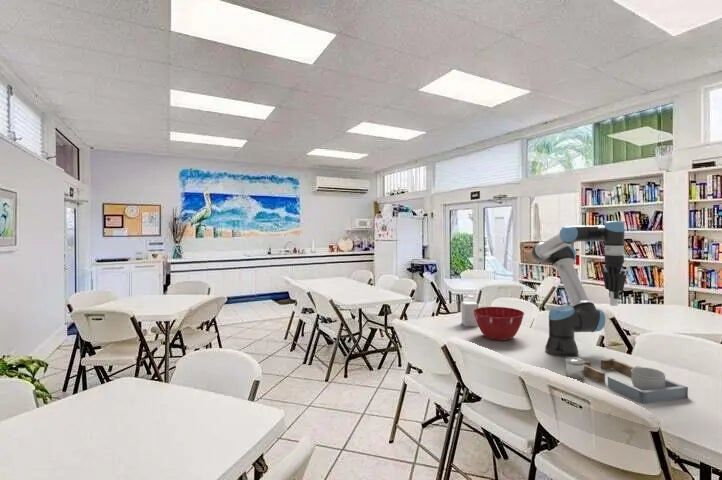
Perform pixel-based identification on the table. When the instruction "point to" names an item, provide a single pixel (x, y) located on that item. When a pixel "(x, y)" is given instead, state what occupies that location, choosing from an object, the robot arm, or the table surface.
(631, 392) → the dock
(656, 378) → the teacup
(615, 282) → the robot arm
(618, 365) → the wooden u-shaped bracket
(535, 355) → the table surface
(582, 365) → the sugar tin
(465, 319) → the supplement box
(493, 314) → the mixing bowl
